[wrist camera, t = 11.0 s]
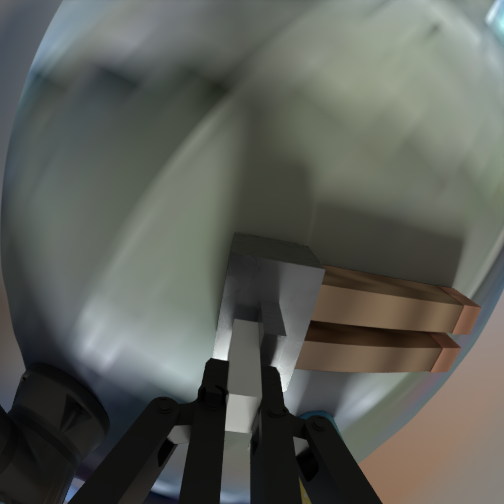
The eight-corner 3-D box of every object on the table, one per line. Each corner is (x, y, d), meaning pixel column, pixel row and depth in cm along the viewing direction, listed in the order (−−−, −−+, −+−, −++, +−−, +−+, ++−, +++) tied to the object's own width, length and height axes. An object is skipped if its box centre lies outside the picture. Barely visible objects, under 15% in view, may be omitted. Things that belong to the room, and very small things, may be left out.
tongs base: (220, 326, 25) (215, 360, 20) (231, 267, 24) (226, 293, 19) (426, 346, 27) (448, 371, 22) (446, 302, 25) (472, 323, 20)
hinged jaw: (297, 292, 24) (308, 321, 19) (305, 260, 23) (319, 283, 19) (444, 312, 25) (469, 334, 20) (453, 288, 25) (481, 307, 20)
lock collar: (216, 341, 25) (202, 419, 16) (234, 232, 22) (225, 276, 13) (278, 350, 26) (291, 429, 16) (307, 246, 23) (345, 296, 13)
